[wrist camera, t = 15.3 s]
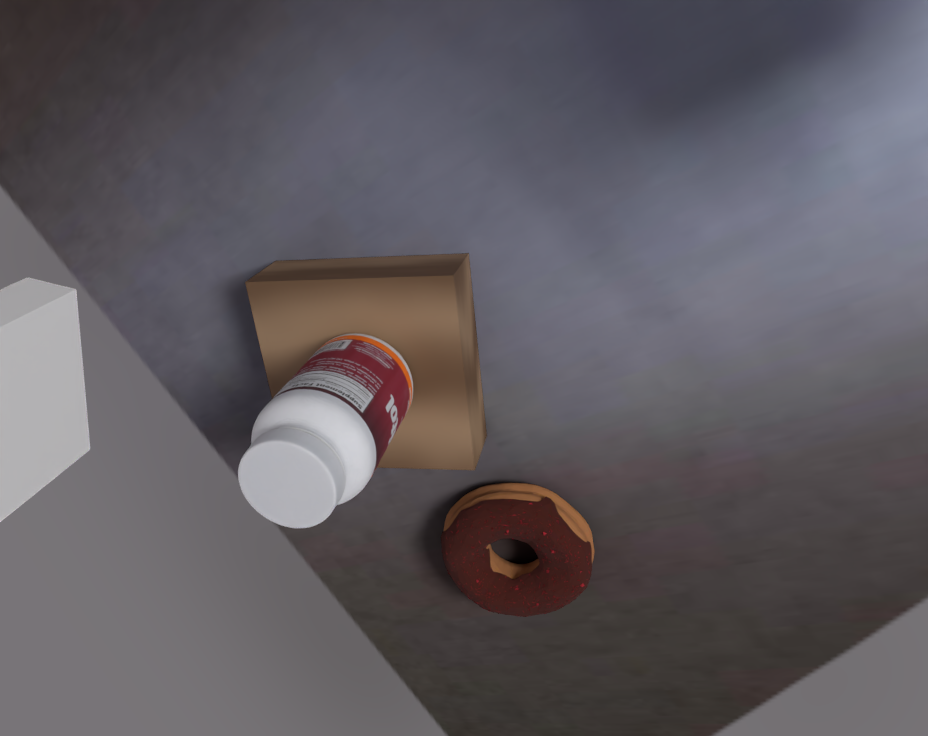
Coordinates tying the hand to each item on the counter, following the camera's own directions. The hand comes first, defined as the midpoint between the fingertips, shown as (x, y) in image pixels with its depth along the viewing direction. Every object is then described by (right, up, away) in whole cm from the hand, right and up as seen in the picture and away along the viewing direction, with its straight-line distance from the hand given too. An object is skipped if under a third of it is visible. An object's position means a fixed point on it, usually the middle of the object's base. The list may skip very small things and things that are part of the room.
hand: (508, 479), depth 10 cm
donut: (+3, -10, +40) cm, 42 cm away
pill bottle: (-6, +1, +33) cm, 33 cm away
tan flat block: (-6, +3, +36) cm, 36 cm away
